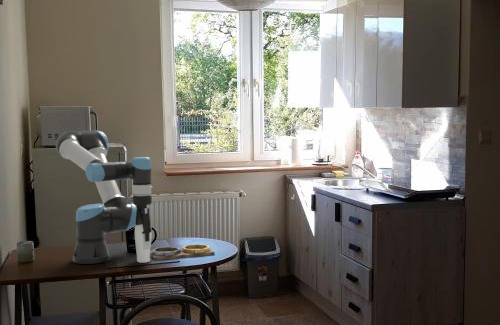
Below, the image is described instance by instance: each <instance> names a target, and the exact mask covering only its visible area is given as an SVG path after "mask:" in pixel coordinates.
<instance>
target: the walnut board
mask: <svg viewBox="0 0 500 325" xmlns="http://www.w3.org/2000/svg"><path fill="white" fill-rule="evenodd" d="M180 249H181V253H180V254H177V255H172V256H156V255H154V254H153V253H152V250H150V258H152V259H153V260H154V261H160V260H161V261H162V260H163V261H164V260H171V259H172V260H174V259H175V260H176V259H183V258H184V259H185V258H194V257H195V258H196V257H206V256H215V251H213V250H212V249H211V248H210V251H207V252H205V253H185V252H183V251H182V247H181V248H180ZM191 249H204V248H191ZM159 252H172V251H169V250H168V251H159Z"/></svg>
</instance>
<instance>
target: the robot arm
mask: <svg viewBox="0 0 500 325" xmlns="http://www.w3.org/2000/svg"><path fill="white" fill-rule="evenodd" d="M109 147H110V146H109V140H108V137H107V135H106V134H105V133H104V132H103V131H100V130H94V129H92V130H68V131H65V132H64V133H61V135H60V136H59V137H58V138H57V139H56V141H55V149H56V152H57V154H58V155H60V157H62V158H63V159H64V160H65V159H66V160H69V161H71V162H72V163H74V164H75V165H76V166H78V167H79V168H80V169H82V170H83V171H85V177H86V178H87V179H86V180H88V181H89V182H92V183H93V182H94V184H95V186H96V188H97V191H98V194H99V195H100V199H101V201H102V203H98V202H97V203H91V204H85V205H82V206H80V207H78V208H77V209H76V211H75V229H76V231H75V232H76V233H75V234H76V244H75V248H74V251H73V254H72V262H73V263H75V264H81V265H82V264H83V265H88V264H89V265H91V264H92V265H93V264H101V263H105V262H107V261H110V259H111V255H110V251H109V248H108V245H107V242H106V234H113V233H120V232H127V231H130V230H129V229H131V228H132V227H134V226H136V225H143V231H142V234H143V249H144V250H146V249H150V232H151V233H152V225H151V216H150V208H149V207H148V205H152V203H153V201H152V200H153V199H152V195H151V194H152V189H153V188H154V187H153V186H152V164H151V163H152V161H151V158H150V157H149V156H144V157H143V156H136V157H133V158H132V160H123V161H112V162H110V161H109V162H108V159H107V155H108V151H109V149H110V148H109ZM120 180H121V181H122V180H124V181H125V180H132V195H133V196H132V203H131V202H130V203H129V201H128V199H127V197H126V196H123V195H122V193H121V191H120V188H119V186H118V184H117V181H120ZM134 228H135V227H134ZM131 230H132V229H131ZM150 250H151V249H150Z"/></svg>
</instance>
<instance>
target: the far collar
mask: <svg viewBox="0 0 500 325" xmlns="http://www.w3.org/2000/svg"><path fill="white" fill-rule="evenodd" d="M181 248H182V251H183V252H185V253H205V252H207V251H210V249H211V246H209V245H208V244H201V243H200V244H199V243H196V244H195V243H194V244H186V245H183V246H181ZM191 248H204V249H191Z"/></svg>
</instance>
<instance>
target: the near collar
mask: <svg viewBox="0 0 500 325" xmlns="http://www.w3.org/2000/svg"><path fill="white" fill-rule="evenodd" d="M168 250H169V251H172V252H159V251H168ZM151 251H152V253H153V254H154V255H156V256H172V255H177V254H180V253H181V248H180V247H179V246H177V247H176V246H159V247H155V248H154V249H153V248H152V249H151Z"/></svg>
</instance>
